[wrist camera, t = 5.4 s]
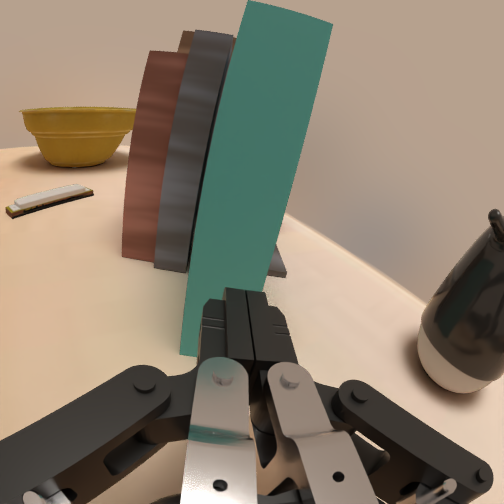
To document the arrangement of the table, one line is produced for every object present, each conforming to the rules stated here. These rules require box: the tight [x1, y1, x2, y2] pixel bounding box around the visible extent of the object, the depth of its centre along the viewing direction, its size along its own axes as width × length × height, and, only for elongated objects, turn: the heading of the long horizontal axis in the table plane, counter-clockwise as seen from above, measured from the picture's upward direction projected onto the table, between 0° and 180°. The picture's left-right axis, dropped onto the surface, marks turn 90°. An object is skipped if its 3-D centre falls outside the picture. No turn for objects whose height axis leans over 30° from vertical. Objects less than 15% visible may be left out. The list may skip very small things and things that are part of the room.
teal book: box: [180, 0, 333, 357], centre depth 20 cm, size 16×4×20 cm, turn 5°
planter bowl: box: [19, 107, 136, 167], centre depth 53 cm, size 32×32×13 cm
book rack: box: [122, 30, 287, 278], centre depth 28 cm, size 15×18×25 cm
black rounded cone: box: [417, 209, 504, 393], centre depth 17 cm, size 10×10×15 cm
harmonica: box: [6, 184, 94, 219], centre depth 33 cm, size 15×3×2 cm, turn 156°
